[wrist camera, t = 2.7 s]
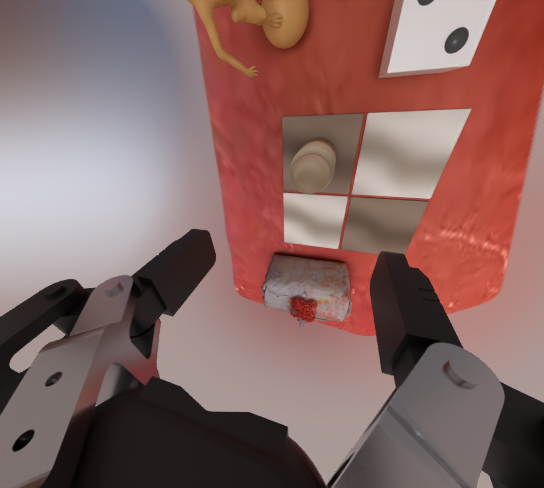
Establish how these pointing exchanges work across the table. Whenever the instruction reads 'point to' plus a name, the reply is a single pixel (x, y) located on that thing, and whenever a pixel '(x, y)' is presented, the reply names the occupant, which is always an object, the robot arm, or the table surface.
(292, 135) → the game mat
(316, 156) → the pawn
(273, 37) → the figurine
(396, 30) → the die
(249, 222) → the table surface
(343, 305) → the food item
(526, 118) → the table surface
